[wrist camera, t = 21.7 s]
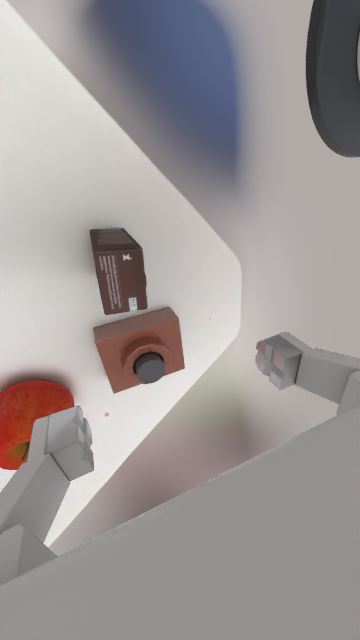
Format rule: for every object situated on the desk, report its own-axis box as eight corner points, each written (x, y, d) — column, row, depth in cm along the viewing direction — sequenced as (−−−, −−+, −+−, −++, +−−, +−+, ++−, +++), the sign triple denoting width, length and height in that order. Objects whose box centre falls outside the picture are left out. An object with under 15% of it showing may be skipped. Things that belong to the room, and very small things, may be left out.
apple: (64, 359, 35) (61, 414, 27) (83, 408, 41) (85, 467, 32) (-21, 381, 32) (-56, 452, 23) (12, 431, 38) (-7, 503, 29)
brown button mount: (169, 306, 38) (183, 324, 33) (176, 355, 43) (189, 376, 38) (93, 327, 35) (96, 350, 30) (110, 377, 40) (115, 403, 35)
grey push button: (159, 348, 34) (163, 356, 32) (162, 368, 36) (167, 377, 34) (131, 357, 33) (134, 365, 31) (137, 377, 35) (140, 387, 33)
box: (86, 229, 29) (92, 250, 19) (123, 227, 30) (147, 246, 20) (95, 277, 32) (104, 317, 22) (129, 273, 33) (152, 309, 23)
